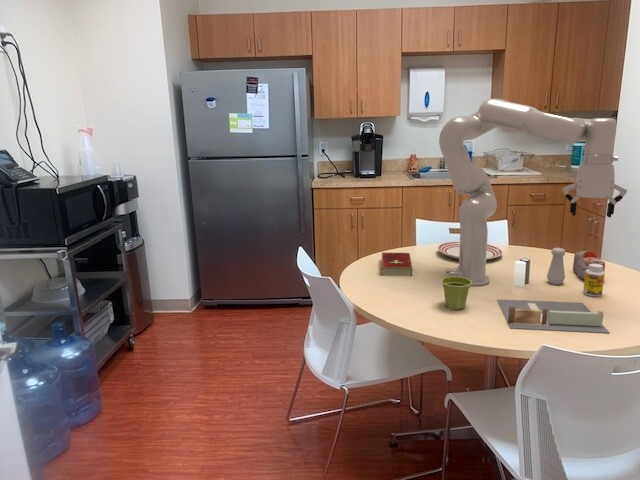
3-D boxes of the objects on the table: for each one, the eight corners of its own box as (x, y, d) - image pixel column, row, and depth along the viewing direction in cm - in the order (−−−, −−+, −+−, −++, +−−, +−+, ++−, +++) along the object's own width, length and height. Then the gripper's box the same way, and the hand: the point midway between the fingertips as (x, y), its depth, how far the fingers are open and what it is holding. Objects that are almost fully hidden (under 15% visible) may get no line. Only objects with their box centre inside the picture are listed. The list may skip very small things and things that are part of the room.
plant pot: (466, 314, 146) (467, 288, 143) (436, 308, 150) (437, 283, 148) (473, 304, 153) (475, 279, 151) (445, 299, 158) (446, 274, 156)
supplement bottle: (585, 296, 157) (588, 267, 154) (581, 290, 162) (584, 262, 159) (603, 297, 155) (607, 268, 152) (599, 292, 160) (603, 263, 157)
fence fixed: (508, 324, 138) (509, 308, 137) (507, 321, 140) (508, 306, 138) (546, 325, 136) (548, 310, 135) (545, 323, 138) (546, 308, 136)
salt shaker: (566, 286, 166) (569, 251, 163) (548, 285, 167) (552, 250, 164) (561, 280, 172) (564, 246, 168) (544, 280, 173) (547, 246, 170)
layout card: (510, 328, 135) (510, 327, 135) (497, 300, 156) (497, 299, 156) (609, 333, 130) (609, 332, 130) (582, 303, 151) (582, 302, 151)
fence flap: (549, 323, 136) (550, 310, 135) (547, 321, 137) (549, 309, 136) (602, 326, 133) (603, 313, 132) (600, 324, 134) (602, 311, 133)
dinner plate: (498, 248, 217) (498, 241, 216) (507, 266, 191) (507, 258, 190) (437, 246, 223) (437, 239, 222) (437, 263, 197) (437, 256, 196)
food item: (606, 283, 168) (610, 257, 165) (582, 283, 169) (585, 257, 166) (590, 271, 181) (593, 247, 178) (568, 271, 182) (570, 246, 179)
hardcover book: (410, 261, 202) (410, 252, 201) (412, 277, 182) (412, 267, 181) (381, 261, 204) (381, 251, 203) (381, 276, 184) (381, 266, 182)
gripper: (628, 159, 142) (620, 214, 146) (564, 159, 148) (558, 212, 153) (633, 161, 135) (625, 219, 140) (566, 161, 142) (561, 216, 146)
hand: (590, 215), depth 146 cm, fingers open, 9 cm apart
